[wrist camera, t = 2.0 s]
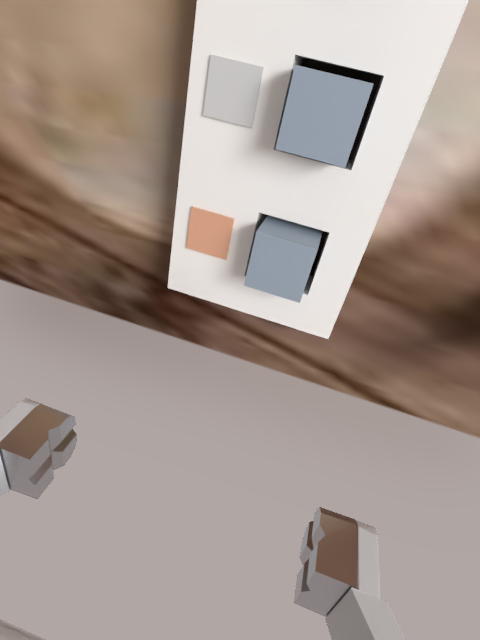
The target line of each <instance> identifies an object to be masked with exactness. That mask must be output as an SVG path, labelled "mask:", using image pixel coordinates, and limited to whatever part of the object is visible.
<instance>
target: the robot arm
mask: <svg viewBox="0 0 480 640" xmlns="http://www.w3.org/2000/svg"><path fill="white" fill-rule="evenodd" d="M75 425H76V423H75V417H74V416H71V415H68V414H66V413H64V412H61V411H58V410H56V409H53V408H50V407H48V406H45V405H43V404H40V403H38V402H35V401H32V400H30V399H27V398H25V399H24V400H22V401H19V402H18V403H17V404H16V405H15V406H14V407H13V408H12V409H10V410H9V411H8V412H7V413H6V414H5V415H4V416H3V417H2V418H1V419H0V496H2V495H4V494H5V493H7V492H9V491H10V490H9V489H11V490H13V491H16V492H19V493H22V494H24V495H27V496H30V497H33V498H35V499H38V498H39V497H40V495H41V494H42V493H43V491H44V490H45V489H46V488H47V487H48V485H49V484H50V483H51V481H52V480H53V479H54V470H55V469H58V468H60V467H62V466H64V465H65V463H66V462H67V461H68V459H69V458H70V457H71V455H72V453H73V450H74V449H75V446H76V442H77V435H76V433H75V432H74V430H73V429H72V428H73V427H74V426H75ZM300 559H301V561H302V564H303V567H302V569H301V570H300V572H299V573H298V575H297V582H296V590H295V598H294V603H295V604H298V605H300V606H302V607H305V608H307V609H309V610H312V611H314V612H316V613H318V614H321V615H323V616H325V617H326V618H325V619H326V623H327V626H328V629H329V632H330V635H331V638H332V640H406V639H405V637H404V635H403V633H402V631H401V630H400V627H399V626H398V624H397V621H396V619H395V618H394V615H393V614H392V612H391V610H390V608H389V606H388V604H387V602H386V600H383V599H381V598H380V582H379V556H378V533H377V531H376V528H375V527H373V526H370V525H367V524H364V523H361V522H359V521H356V520H355V519H352V518H349V517H346V516H343V515H341V514H338V513H335V512H332V511H329V510H326V509H323V508H321V507H319V508H318V509H317V510H316V512H315V514H314V521H312V522H309V524H308V526H307V528H306V531H305V534H304V537H303V541H302V546H301V552H300ZM0 640H45V639H42V638H40V637H38V636H36V635H34V634H32V633H29V632H27V631H25V630H23V629H20V628H18V627H16V626H14V625H11V624H9V623H7V622H5V621H3V620H0Z"/></svg>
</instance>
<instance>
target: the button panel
mask: <svg viewBox="0 0 480 640" xmlns="http://www.w3.org/2000/svg"><path fill="white" fill-rule="evenodd" d="M468 1H469V0H197V6H196V15H195V25H194V35H193V44H192V54H191V64H190V74H189V83H188V93H187V103H186V113H185V122H184V132H183V142H182V151H181V161H180V171H179V181H178V190H177V200H176V210H175V219H174V229H173V239H172V249H171V258H170V268H169V278H168V287H167V288H170V289H173V290H176V291H179V292H182V293H185V294H188V295H191V296H195V297H198V298H201V299H204V300H207V301H210V302H213V303H217V304H220V305H223V306H226V307H229V308H232V309H235V310H238V311H242V312H245V313H248V314H251V315H254V316H257V317H260V318H263V319H267V320H270V321H273V322H276V323H279V324H282V325H285V326H288V327H292V328H295V329H298V330H301V331H304V332H307V333H310V334H313V335H317V336H320V337H323V338H326V339H328V338H329V336H330V334H331V331H332V329H333V326H334V324H335V322H336V319H337V317H338V314H339V312H340V309H341V307H342V305H343V302H344V300H345V297H346V295H347V293H348V290H349V288H350V285H351V283H352V281H353V278H354V276H355V273H356V271H357V269H358V266H359V264H360V261H361V259H362V256H363V254H364V252H365V249H366V247H367V244H368V242H369V240H370V237H371V235H372V232H373V230H374V228H375V225H376V223H377V220H378V218H379V216H380V213H381V211H382V208H383V206H384V203H385V201H386V199H387V196H388V194H389V191H390V189H391V187H392V184H393V182H394V179H395V177H396V175H397V172H398V170H399V167H400V165H401V163H402V160H403V158H404V155H405V153H406V150H407V148H408V146H409V143H410V141H411V138H412V136H413V134H414V131H415V129H416V126H417V124H418V122H419V119H420V117H421V114H422V112H423V110H424V107H425V105H426V102H427V100H428V97H429V95H430V93H431V90H432V88H433V85H434V83H435V81H436V78H437V76H438V73H439V71H440V69H441V66H442V64H443V61H444V59H445V57H446V54H447V52H448V49H449V47H450V44H451V42H452V40H453V37H454V35H455V32H456V30H457V28H458V25H459V23H460V20H461V18H462V16H463V13H464V11H465V8H466V6H467V4H468ZM303 58H306V59H310V60H315V61H319V62H323V63H327V64H331V65H336V66H340V67H344V68H348V69H352V70H357V71H361V72H365V73H369V74H374V75H378V76H382V77H381V80H380V83H379V85H378V88H377V91H376V94H375V97H374V100H373V103H372V106H371V109H370V112H369V114H368V117H367V120H366V123H365V126H364V129H363V132H362V135H361V138H360V141H359V143H358V146H357V149H356V152H355V155H354V158H353V161H350V160H348V161H347V164H346V167H345V168H344V167H341V166H337V165H333V164H329V163H326V162H322V161H318V160H314V159H311V158H307V157H303V156H300V155H296V154H292V153H288V152H285V151H281V150H277V149H276V144H277V140H278V136H279V131H280V127H281V123H282V118H283V114H284V110H285V106H286V101H287V97H288V93H289V88H290V84H291V80H292V75H293V71H294V67H295V65H298V66H301V64H302V60H303ZM265 214H266V215H270V216H273V217H277V218H280V219H284V220H287V221H291V222H294V223H298V224H301V225H305V226H308V227H312V228H315V229H319V230H322V231H326V232H328V233H327V236H326V239H325V242H324V245H323V248H322V251H321V254H320V256H319V259H318V262H317V265H316V268H315V271H314V274H313V276H310V275H309V277H308V280H307V283H306V286H305V289H304V292H303V295H302V298H301V301H300V303H298V302H295V301H292V300H289V299H285V298H282V297H279V296H276V295H273V294H269V293H266V292H263V291H260V290H256V289H253V288H250V287H247V286H244V283H245V278H246V274H247V270H248V265H249V261H250V257H251V253H252V248H253V244H254V240H255V235H256V231H257V230H258V228H259V227H260V226H261V224H262V223H263V221H264V218H265Z"/></svg>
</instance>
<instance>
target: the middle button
mask: <svg viewBox="0 0 480 640" xmlns="http://www.w3.org/2000/svg"><path fill="white" fill-rule="evenodd" d="M372 87H373V83H369V82H365V81H361V80H357V79H352V78H348V77H344V76H340V75H336V74H332V73H328V72H323V71H319V70H315V69H311V68H307V67H303V66H298V65H295V67H294V71H293V75H292V80H291V84H290V88H289V93H288V97H287V101H286V106H285V110H284V114H283V118H282V123H281V127H280V131H279V136H278V140H277V144H276V149H277V150H281V151H285V152H288V153H292V154H296V155H300V156H303V157H307V158H311V159H314V160H318V161H322V162H326V163H329V164H333V165H337V166H341V167H344V168H345V167H346V164H347V161H348V158H349V155H350V152H351V150H352V147H353V144H354V141H355V138H356V135H357V132H358V129H359V126H360V123H361V120H362V117H363V114H364V111H365V108H366V105H367V102H368V99H369V96H370V93H371V90H372Z"/></svg>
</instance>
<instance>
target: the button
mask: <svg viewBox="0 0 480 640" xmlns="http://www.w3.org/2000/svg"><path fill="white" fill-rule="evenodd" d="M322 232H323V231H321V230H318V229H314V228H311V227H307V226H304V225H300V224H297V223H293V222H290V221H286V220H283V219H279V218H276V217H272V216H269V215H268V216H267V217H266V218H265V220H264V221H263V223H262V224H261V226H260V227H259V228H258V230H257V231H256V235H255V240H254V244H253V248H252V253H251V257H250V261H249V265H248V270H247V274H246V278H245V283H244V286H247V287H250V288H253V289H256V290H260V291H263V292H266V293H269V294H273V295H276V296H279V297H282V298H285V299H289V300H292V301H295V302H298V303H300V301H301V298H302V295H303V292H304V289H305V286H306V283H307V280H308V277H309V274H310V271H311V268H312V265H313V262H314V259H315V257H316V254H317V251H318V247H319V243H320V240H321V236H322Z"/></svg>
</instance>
